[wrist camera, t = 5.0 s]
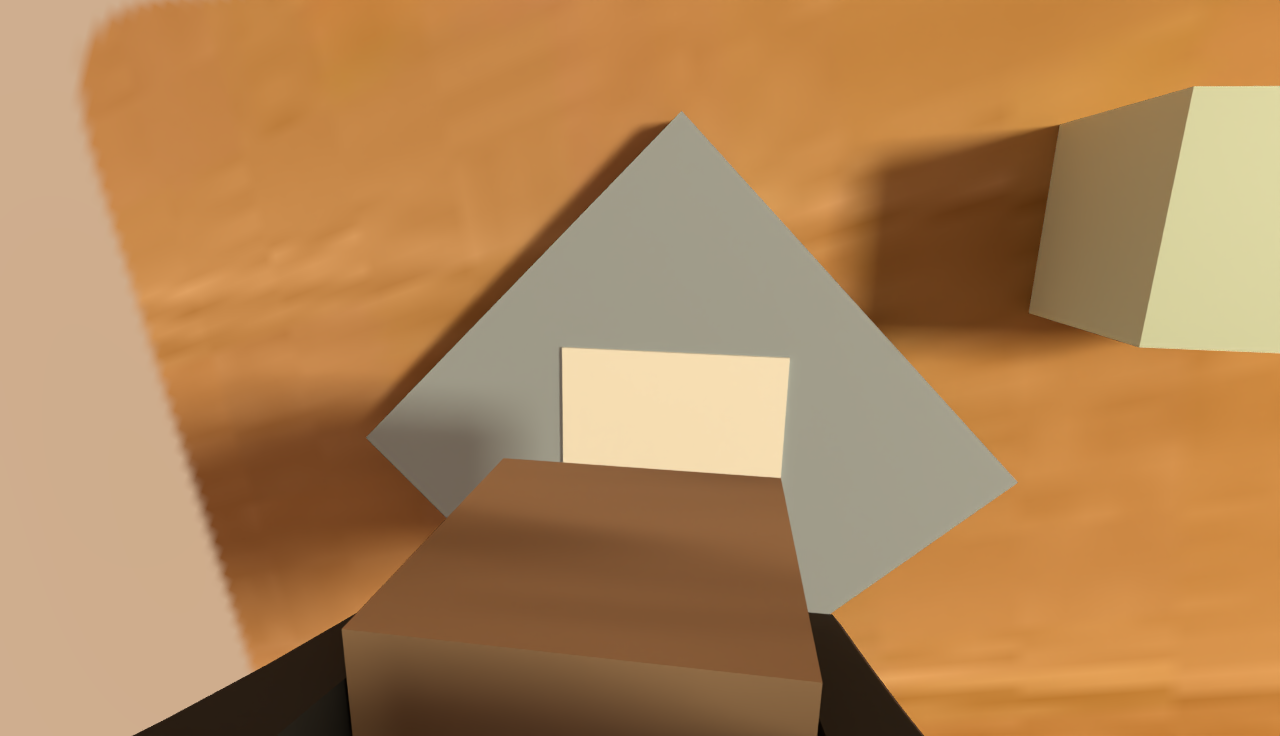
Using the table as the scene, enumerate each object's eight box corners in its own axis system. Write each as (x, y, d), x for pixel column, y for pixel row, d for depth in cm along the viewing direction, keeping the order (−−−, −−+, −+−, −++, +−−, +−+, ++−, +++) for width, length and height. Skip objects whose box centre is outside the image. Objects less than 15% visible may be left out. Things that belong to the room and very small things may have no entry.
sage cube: (1221, 320, 14) (1416, 359, 10) (1027, 312, 14) (1139, 347, 10) (1268, 125, 13) (1502, 85, 9) (1057, 125, 13) (1193, 86, 9)
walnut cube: (762, 720, 10) (784, 1054, 6) (511, 690, 10) (377, 978, 6) (781, 478, 9) (822, 681, 5) (503, 458, 9) (341, 630, 5)
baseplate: (665, 704, 18) (660, 734, 17) (386, 425, 17) (363, 438, 16) (999, 465, 15) (1019, 484, 14) (685, 118, 14) (681, 110, 13)
